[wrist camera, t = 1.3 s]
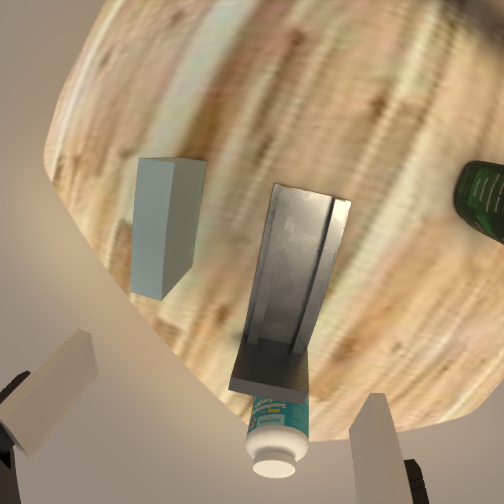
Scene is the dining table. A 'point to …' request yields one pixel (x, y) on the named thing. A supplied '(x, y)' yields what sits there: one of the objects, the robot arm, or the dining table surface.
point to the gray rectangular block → (164, 223)
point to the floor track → (288, 293)
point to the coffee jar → (483, 198)
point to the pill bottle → (277, 436)
